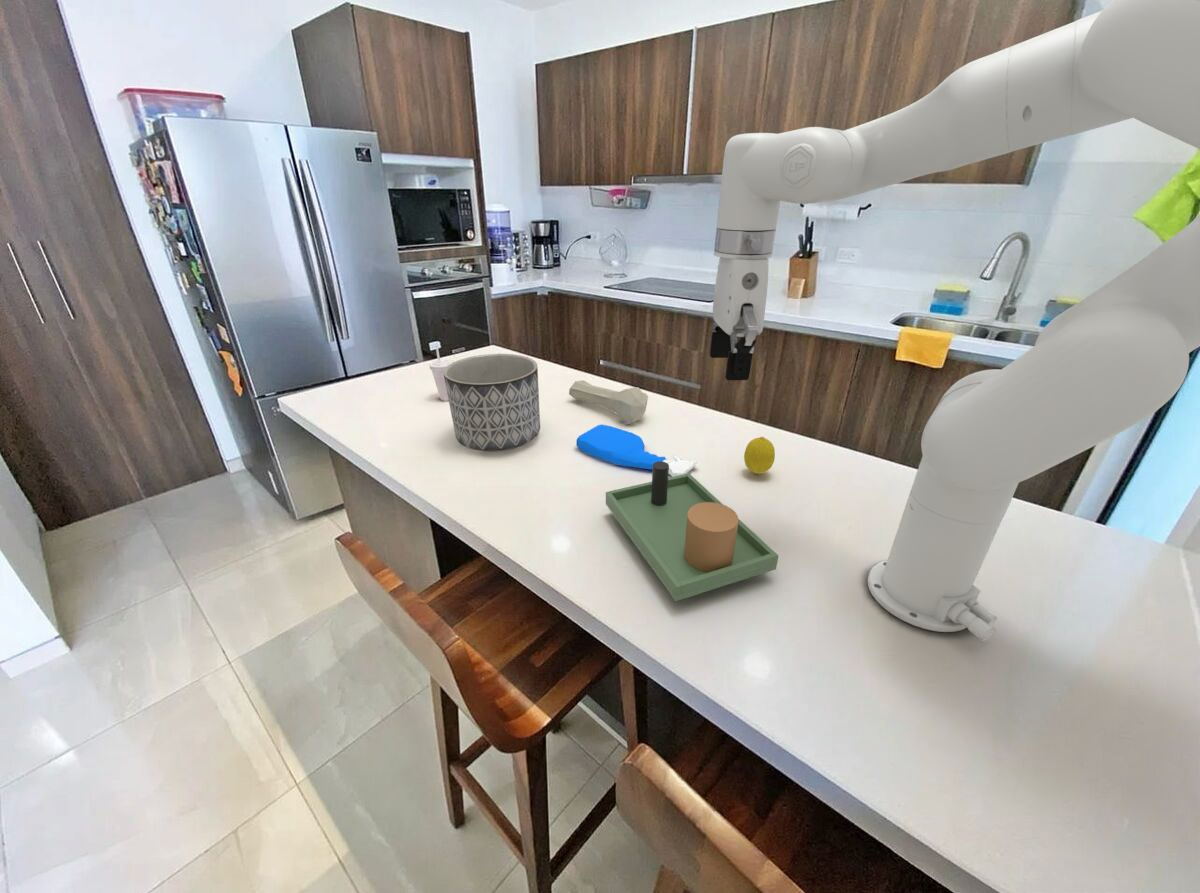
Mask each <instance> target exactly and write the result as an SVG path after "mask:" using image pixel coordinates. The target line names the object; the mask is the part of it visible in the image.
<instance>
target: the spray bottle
mask: <svg viewBox="0 0 1200 893" xmlns="http://www.w3.org/2000/svg"><path fill="white" fill-rule="evenodd" d="M575 445H576V447H577V448H578V450H580V451H581V452H583V453H585V454H587V455H589V456H591V457H594V458H596V459H599V460H601V461H605V462H607V463H610V464H614V465H617V466H622V467H626V468H629V467H632V468H639V469H645V470H652V469H653V463H655V462H658V461H662V462H666V463H668V465H669V474H668V475H670V476H671V477H674V476H678V475H683V474H687V473H690V471H692V470H693V469H694V468H695V465H697V464H698V461H697V459H692V460H688V459H687V460H682V459H680V458H679V457H678V456H676V455H675V454H673V455H672V458H673V460H672V461H671V460H669V459H667V458H666V457H665V456H658V455H657V454H654V453H651V452H649V451H645V443H644V440H643V438H641V437H640V435H637V434H635V433H634V432H631V431H629V430H624V429H621V428H618V427H615V426H612V425H607V424H597V425H596V426H594V427H592V428H591V429H589V430H587V431H585V432H584V433H582V434H580V435H578V437H577V438H576V443H575Z"/></svg>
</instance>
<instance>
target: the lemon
mask: <svg viewBox="0 0 1200 893" xmlns="http://www.w3.org/2000/svg"><path fill="white" fill-rule="evenodd" d="M775 458H776V452H775V446H774V444H773V443H772V442H771V440H769V439H768V438H765V437H764V436H760V437H755V438H753V439H752V440H750V441H749V442H748V443H747V445H746V447H745V450H744V454H743V460H744V465H745V466H746V468H747V469H748V470H749V471H750V472H752V473H754V475H759V474H763V473H766V472H768V471H769V470H771V469H772V467H773V464H774V462H775Z"/></svg>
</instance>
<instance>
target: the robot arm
mask: <svg viewBox="0 0 1200 893" xmlns="http://www.w3.org/2000/svg"><path fill="white" fill-rule="evenodd" d="M1130 119H1136V120H1137V121H1139V122H1141V123H1142V124H1145V125H1147V126H1149V127H1151V128H1152V129H1153V128H1154V129H1155V130H1157V131H1159V132H1162V133H1164V134H1166V135H1168V136H1170V137H1172V138H1174V139H1176V140H1178V141H1181V142H1183V143H1185V144H1188V145H1190V146H1191V147H1194V148H1196V149H1199V150H1200V0H1111V1H1109V3H1107V5H1106V6H1104V8H1103V9H1102V10H1100V11H1097V12H1095V13H1091V14H1090V15H1086V16H1084V17H1082V18H1079V19H1077V20H1075V21H1073V22H1070V23H1067V24H1064V25H1063V26H1060V27H1057V28H1054V29H1052V30H1049V31H1047V32H1044V33H1042V34H1039V35H1037V36H1035V37H1032V38H1029V39H1027V40H1024V41H1021V42H1019V43H1016V44H1014V45H1010V46H1008V47H1006V48H1003V49H1001V50H998V51H995V52H994V53H991V54H988V55H985V56H983V57H980V58H977V59H974V60H972V61H969V62H968V63H966V64H964V65H962V66H961V67H959V68H957V69H956V70H955V71H953V72H952V73H951V74H949V75H948V76H947V77H945V79H943V80H942V81H941V83H939V84H938V85H937V86H936V87H935V88H934V89H933V90H932V91H930V92H929V93H928V94H926V95H925V96H923V97H921V98H920V99H918V100H916V101H915V102H913V103H911V104H909V105H907V106H904V107H902V108H900V109H899V110H896V111H894V112H892V113H888V114H886V115H884V116H881V117H878V118H876V119H873V120H870V121H868V122H865V123H862V124H859V125H856V126H853V127H850V128H847V129H843V130H841V129H838V128H831V127H829V128H828V127H822V126H808V127H803V128H798V129H793V130H789V131H784V132H780V133H774V132H750V133H741V134H736V135H733V136H732V137H731V138H729V140H728V141H727V143H726V145H725V147H724V153H723V161H722V172H721V180H720V190H719V200H718V210H717V220H716V230H715V237H714V246H713V247H714V249H713V256H714V257H718V258H719V260H718V264H717V271H716V278H715V284H714V285H715V286H714V294H713V301H712V318H713V322H712V332H711V338H710V339H711V340H710V346H709V347H710V349H709V357H710V358H711V359H722V358H723V359H726V361H727V362H726V367H725V375H724V378H725V379H726V381H748V380H749V378H750V374H751V369H752V368H751V367H752V362H753V354H754V352H755V344H756V342H757V339H756V337H757V336H759V335H761V334H762V332H763V329H764V322H765V315H766V305H767V298H768V295H767V294H768V286H769V259H770V258H772V257H773V253H774V252H773V251H774V244H775V239H776V233H777V230H776V229H777V224H778V219H779V212H780V206H781V202H785V203H791V204H796V205H797V204H799V205H807V204H816V203H823V202H824V203H826V202H835V201H839V200H843V199H847V198H850V197H853V196H857V195H860V194H864V193H868V192H871V191H875V190H878V189H881V188H886V187H889V186H892V185H895V184H899V183H903V182H906V181H909V180H910V181H911V180H913V179H916V178H919V177H923V176H926V175H930V174H935V173H942V172H947V171H952V170H955V169H958V168H962V167H964V166H968V165H972V164H975V163H979V162H983V161H986V160H988V159H993V158H995V157H999V156H1002V155H1007V154H1009V153H1013V152H1015V151H1020V150H1022V149H1026V148H1031V147H1034V146H1036V145H1037V146H1038V145H1041V144H1044V143H1048V142H1051V141H1054V140H1059V139H1061V138H1066V137H1069V136H1074V135H1078V134H1080V133H1084V132H1088V131H1092V130H1095V129H1099V128H1103V127H1107V126H1110V125H1114V124H1116V123H1117V124H1118V123H1121V122H1123V121H1127V120H1130ZM738 337H739V339H738ZM1199 347H1200V214H1199V215H1197V217H1195V218H1194V219H1193V220H1192V221H1191V222H1189V223H1188V224H1187V225H1186V226H1184V228H1182V229H1181V230H1179V231H1178V232H1177V233H1175V234H1174V235H1173V236H1171V237H1170V238H1169V239H1167V240H1166V241H1165V242H1163V243H1162V244H1160V245H1159V246H1158V247H1157V248H1155V249H1154V250H1153V251H1152V252H1150V253H1149V254H1148V255H1146V256H1145V257H1144V258H1143V259H1141V260H1139V261H1137V263H1135V264H1134V265H1131V266H1130V267H1129V268H1127V269H1126V270H1124V271H1123V272H1122V273H1120V274H1119V275H1117V276H1116V277H1114V278H1113V279H1112V280H1110V281H1109V282H1107V283H1106V284H1104V285H1103V286H1101V287H1100V288H1098V289H1097V290H1095V291H1094V292H1093V293H1091V294H1089V295H1088V296H1086V297H1085V298H1083V299H1081V300H1080V301H1078V302H1077V303H1076V304H1073V305H1072V306H1070V307H1069V308H1067V309H1065V310H1064V311H1062V312H1061V313H1059V314H1058V315H1056V316H1055V317H1054V318H1053V319H1051V320H1050V321H1048V323H1047V324H1046V325H1045V326H1044V327H1043V329H1042V330H1041V332H1040V333H1039V334H1038V337H1037V338H1036V340H1035V344H1034V346H1032V347H1031V348H1030V349H1029V350H1027V351H1026V352H1024V353H1023V354H1021V355H1020V356H1019V357H1017V358H1016V359H1014V360H1012V361H1011V362H1010V363H1009V364H1007V365H1005V366H1004V367H1003V368H999V369H998V368H997V369H995V368H994V369H993V368H992V369H984V370H979V371H975V372H973V373H970V374H967V375H966V376H964V377H962V378H960V379H959V380H957V381H956V382H955V383H953V384H952V385H951V386H950V387H949V388H948V389H947V390H946V392H945V393H944V394H943V396H942V397H941V398H940V400H939V402H938V403H937V404H936V406H935V408H934V410H933V412H932V413H931V415H930V416H929V418H928V420H927V422H926V424H925V426H924V428H923V431H922V434H921V441H920V447H921V448H920V449H921V453H922V455H921V458H920V462H919V465H918V468H917V471H916V473H915V476H914V478H913V483H912V486H911V489H910V492H909V494H908V498H907V501H906V503H905V506H904V509H903V513H902V515H901V518H900V522H899V525H898V528H897V530H896V534H895V536H894V540H893V542H892V545H891V549H890V551H889V555H888V557H887V560H883V561H880V562H877V563H876V564H875V565H873V566H872V567H871V569H870V571H869V573H868V576H867V586H868V590H869V592H870V593H871V595H872V597H873V598H874V600H875V601H876V602H877V603H878V604H879V605H880V606H881V607H882V608H883V609H885V611H887V612H888V613H890V614H891V615H893V616H895V618H898V619H899V620H901V621H903V622H905V623H907V624H910V625H912V626H915V627H917V628H921V629H924V630H928V631H933V632H941V633H955V632H959V631H963V630H965V629H967V630H968V631H969V632H970V633H972V634H973V635H974V636H976V637H978V638H979V639H980V640H981V641H983V642H986V641H987V640H989V639H990V638H991V637H992V636H993V635H994V634H995V631H996V628H994V627H993V626H992V625H994V623H996V621H997V620H998V617H997V616H996V615H994V614H993V613H991V612H990V611H989V610H987V609H985V608H984V607H982V606H981V605H980V602H979V601H977V600H978V598H979V596H980V594H981V589H980V588H978V587H977V586H975V585H974V583H975V581H976V579H977V576H978V574H979V572H980V570H981V567H982V565H983V563H984V561H985V558H986V556H987V554H988V552H989V549H990V548H991V545H992V544H993V542H994V539H995V536H996V535H997V532H998V530H999V528H1000V526H1001V523H1002V521H1003V519H1004V517H1005V515H1006V513H1007V511H1008V508H1009V506H1010V504H1011V503H1012V499H1013V497H1014V495H1015V492H1016V490H1017V488H1018V486H1019V484H1020V483H1021V482H1024V481H1027V480H1029V479H1031V478H1033V477H1035V476H1037V475H1039V474H1040V473H1043V472H1045V471H1047V470H1049V469H1051V468H1053V467H1055V466H1057V465H1060V464H1061V463H1063V462H1065V461H1067V460H1070V459H1071V458H1074V457H1075V456H1077V455H1079V454H1081V453H1083V452H1085V451H1087V450H1089V449H1091V448H1093V447H1095V446H1096V445H1099V444H1101V443H1103V442H1105V441H1107V440H1110V438H1113V437H1115V436H1117V435H1119V434H1121V433H1122V432H1124V431H1126V430H1129V429H1130V428H1132V427H1134V426H1136V425H1137V424H1140V423H1141V422H1143V421H1144V420H1145V419H1147V418H1148V417H1150V416H1152V415H1153V414H1154V413H1156V412H1157V411H1158V410H1160V409H1161V408H1162V407H1163V406H1164V405H1166V404H1167V403H1168V402H1169V401H1170V400H1171V399H1172V398H1173V397H1174V396H1175V395H1176V393H1177V392H1178V391H1179V390H1180V388H1181V386H1182V385H1183V383H1184V382H1185V379H1186V377H1187V374H1188V370H1189V365H1190V353H1191V352H1193V351H1194V350H1196V349H1199Z"/></svg>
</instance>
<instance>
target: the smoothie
mask: <svg viewBox="0 0 1200 893" xmlns="http://www.w3.org/2000/svg"><path fill="white" fill-rule="evenodd" d="M435 352H436V357H437V359H436V360H433V361H431V362H430V363H429V364H428V367H429V369H430V371H431V374H432V377H433V380H434V383H435V386H436V389H437V392H438V395H439V398H440V400H441V401H444V402H445V401H446V402H447V401H448V402H449V399H448V394H447V389H446V384H445V379H444V374H443V372H444V369H445V368H446V367H447V366H448V365H450V364H452V363H454V362H455V361H454V360H452V359H446V358H445V359H441V357H440V351H439V347H438V346H435Z"/></svg>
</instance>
